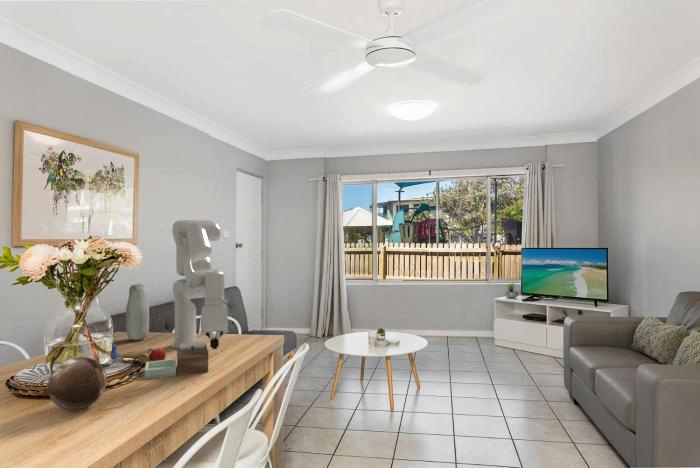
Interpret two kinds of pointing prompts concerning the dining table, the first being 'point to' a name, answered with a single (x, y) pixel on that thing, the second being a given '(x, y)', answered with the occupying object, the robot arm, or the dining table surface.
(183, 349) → the chip
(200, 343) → the chip
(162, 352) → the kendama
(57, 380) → the wooden sphere
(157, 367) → the tray
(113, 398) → the dining table surface
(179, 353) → the slot block
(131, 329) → the grey bottle vase
